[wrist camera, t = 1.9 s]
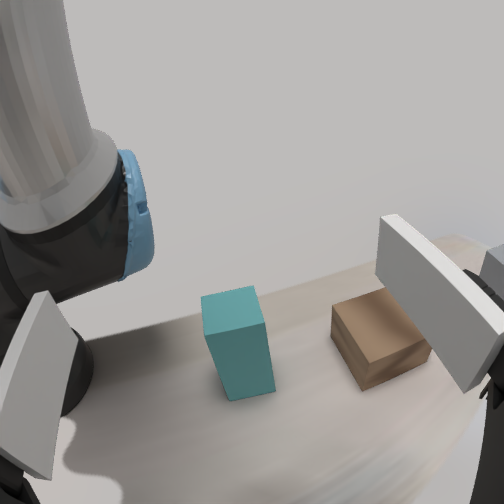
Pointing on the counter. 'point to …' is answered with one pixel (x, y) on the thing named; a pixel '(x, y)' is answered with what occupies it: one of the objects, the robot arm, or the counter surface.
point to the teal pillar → (238, 342)
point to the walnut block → (377, 338)
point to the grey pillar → (494, 270)
